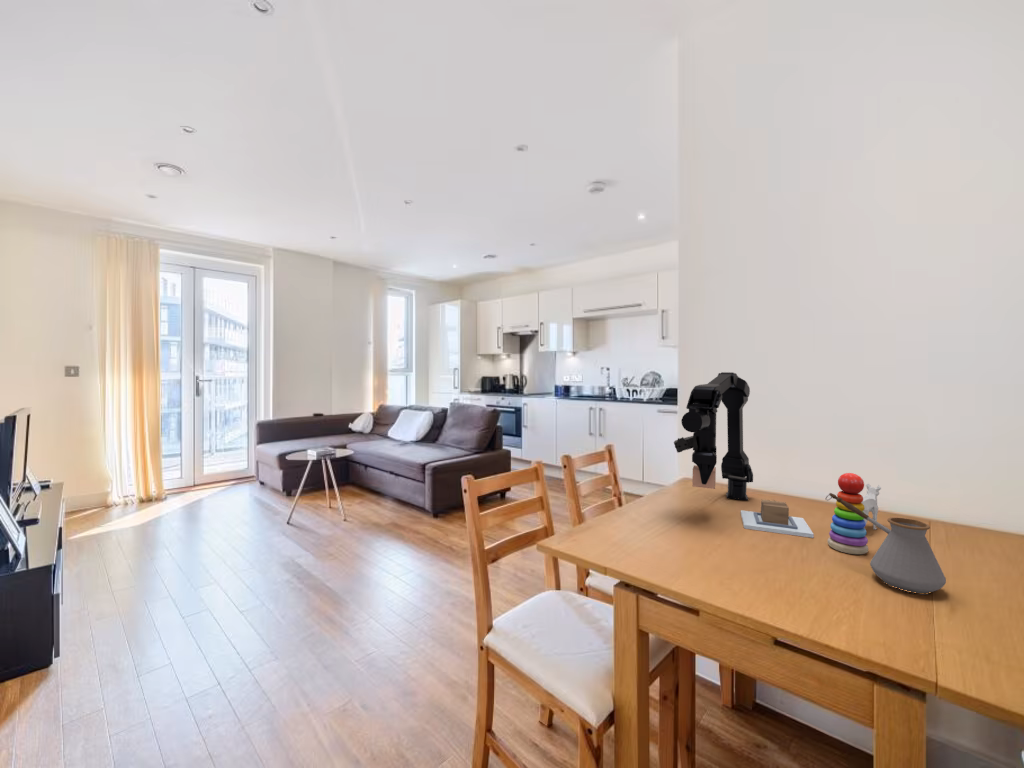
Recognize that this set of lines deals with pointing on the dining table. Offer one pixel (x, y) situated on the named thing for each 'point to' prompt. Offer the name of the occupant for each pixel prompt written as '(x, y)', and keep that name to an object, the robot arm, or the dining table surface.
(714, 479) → the terracotta block
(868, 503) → the cat figurine
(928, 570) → the coffee pot
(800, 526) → the board
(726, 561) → the dining table surface
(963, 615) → the dining table surface
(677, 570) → the dining table surface
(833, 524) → the stacking toy
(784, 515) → the walnut block
